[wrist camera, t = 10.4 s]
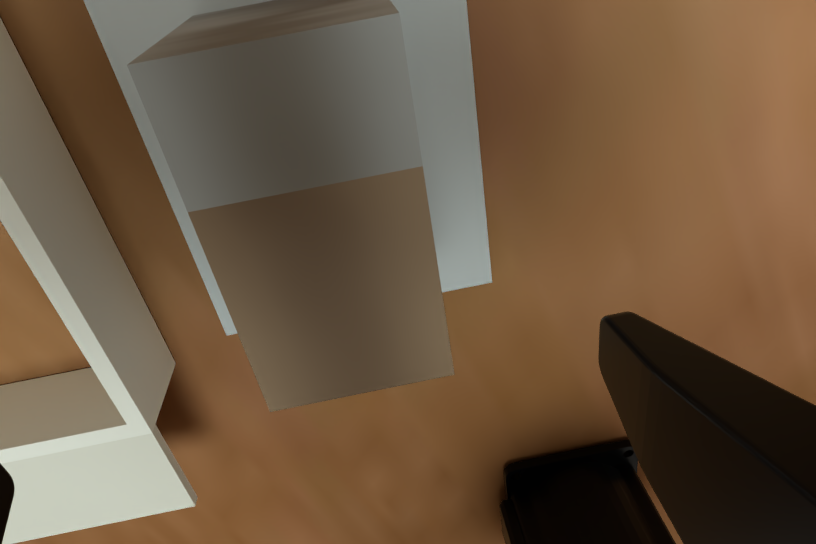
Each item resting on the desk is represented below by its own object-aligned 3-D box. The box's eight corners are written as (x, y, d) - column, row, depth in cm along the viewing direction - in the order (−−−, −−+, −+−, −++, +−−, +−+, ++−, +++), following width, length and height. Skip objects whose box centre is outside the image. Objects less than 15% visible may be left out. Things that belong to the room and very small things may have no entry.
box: (375, -20, 15) (399, 12, 10) (422, 259, 20) (454, 374, 15) (192, 15, 15) (126, 64, 10) (284, 287, 20) (270, 412, 15)
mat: (454, -99, 15) (457, -99, 15) (489, 276, 21) (492, 282, 21) (77, -28, 15) (71, -27, 14) (228, 328, 21) (226, 335, 21)
